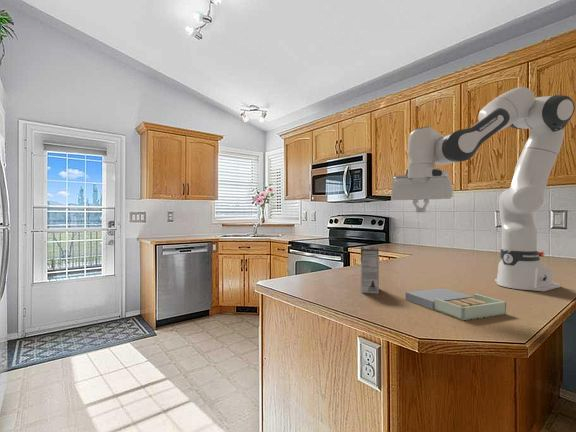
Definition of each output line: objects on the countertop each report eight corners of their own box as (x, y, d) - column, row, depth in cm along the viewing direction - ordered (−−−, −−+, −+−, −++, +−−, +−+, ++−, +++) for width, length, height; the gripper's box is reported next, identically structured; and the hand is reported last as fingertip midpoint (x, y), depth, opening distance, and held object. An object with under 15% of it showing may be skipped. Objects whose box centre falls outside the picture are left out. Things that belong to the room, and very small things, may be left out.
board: (442, 295, 113) (442, 288, 113) (472, 304, 102) (472, 296, 102) (405, 299, 108) (405, 292, 108) (432, 309, 96) (432, 301, 96)
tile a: (470, 304, 100) (470, 298, 100) (485, 308, 95) (485, 302, 95) (459, 306, 98) (459, 299, 98) (474, 311, 94) (474, 304, 94)
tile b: (455, 306, 98) (455, 300, 98) (469, 311, 93) (469, 304, 93) (442, 308, 96) (442, 301, 96) (455, 313, 92) (456, 306, 92)
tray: (474, 304, 102) (474, 293, 102) (506, 314, 92) (506, 302, 92) (434, 310, 96) (434, 298, 96) (463, 320, 87) (463, 308, 87)
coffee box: (360, 287, 126) (360, 246, 125) (377, 287, 124) (377, 246, 124) (361, 293, 117) (361, 248, 116) (379, 293, 115) (379, 249, 115)
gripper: (388, 174, 118) (388, 212, 118) (450, 170, 106) (450, 212, 106) (394, 176, 123) (394, 212, 123) (453, 172, 111) (453, 212, 111)
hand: (420, 212), depth 114 cm, fingers closed
